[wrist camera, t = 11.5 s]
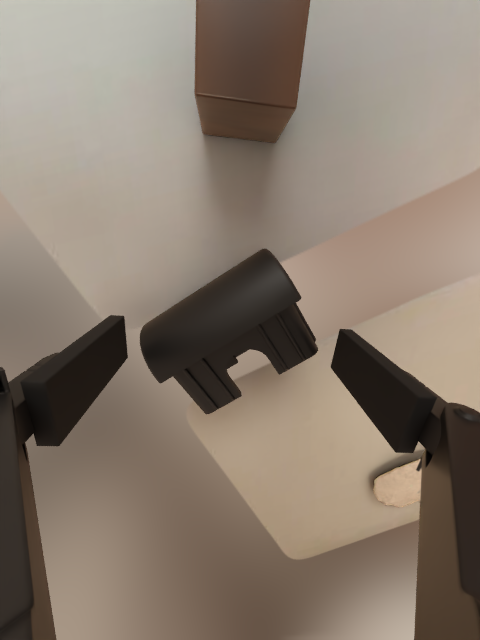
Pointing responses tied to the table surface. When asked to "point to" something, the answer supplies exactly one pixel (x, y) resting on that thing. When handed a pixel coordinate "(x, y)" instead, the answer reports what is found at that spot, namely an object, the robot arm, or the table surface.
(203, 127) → the walnut block middle
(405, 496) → the stone
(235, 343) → the end cap
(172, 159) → the table surface
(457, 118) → the table surface
